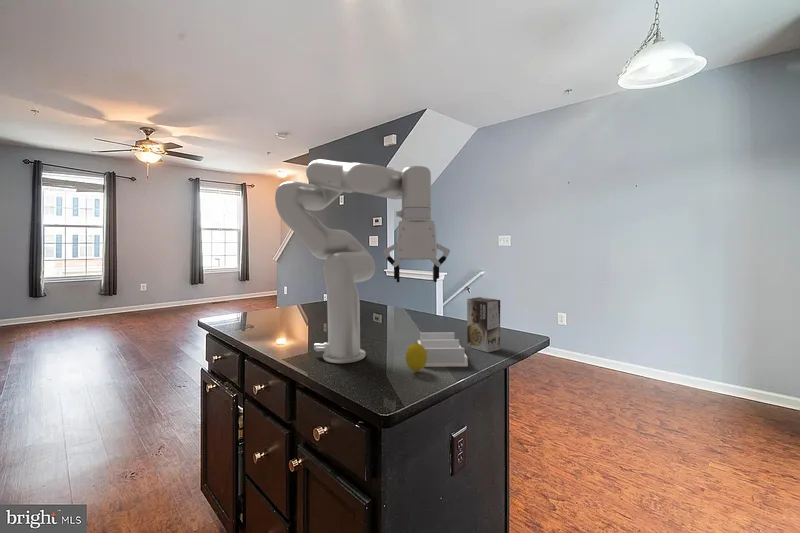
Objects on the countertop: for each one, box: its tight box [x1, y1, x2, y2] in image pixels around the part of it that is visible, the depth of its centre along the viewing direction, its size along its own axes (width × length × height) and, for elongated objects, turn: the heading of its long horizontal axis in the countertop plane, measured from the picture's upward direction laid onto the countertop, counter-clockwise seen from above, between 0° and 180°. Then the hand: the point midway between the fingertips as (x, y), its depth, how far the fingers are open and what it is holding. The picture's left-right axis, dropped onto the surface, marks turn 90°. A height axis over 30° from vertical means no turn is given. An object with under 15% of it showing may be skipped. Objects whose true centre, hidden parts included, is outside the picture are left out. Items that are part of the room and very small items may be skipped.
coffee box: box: [466, 296, 501, 353], centre depth 117 cm, size 9×6×16 cm
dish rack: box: [417, 331, 469, 368], centre depth 109 cm, size 13×19×5 cm
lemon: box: [405, 341, 427, 373], centre depth 95 cm, size 6×6×8 cm
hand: (416, 281), depth 94 cm, fingers open, 9 cm apart
